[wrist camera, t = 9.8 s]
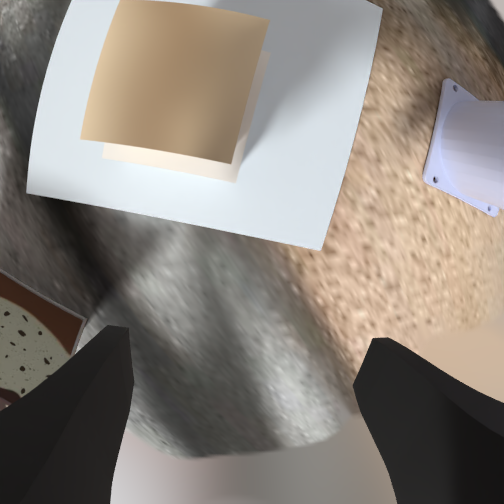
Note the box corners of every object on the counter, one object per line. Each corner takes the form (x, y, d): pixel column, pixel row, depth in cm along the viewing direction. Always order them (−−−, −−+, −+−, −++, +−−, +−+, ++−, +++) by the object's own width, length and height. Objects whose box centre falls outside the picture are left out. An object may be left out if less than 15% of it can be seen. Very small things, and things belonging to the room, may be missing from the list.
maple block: (251, 57, 11) (270, 19, 7) (225, 156, 12) (231, 164, 8) (148, 40, 10) (120, -1, 6) (122, 138, 12) (79, 139, 7)
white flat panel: (375, 13, 14) (382, 8, 13) (315, 245, 19) (320, 250, 18) (100, -42, 10) (96, -49, 9) (34, 190, 15) (26, 193, 14)
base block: (260, 67, 14) (270, 52, 11) (231, 175, 16) (235, 183, 13) (148, 46, 13) (135, 28, 10) (121, 154, 14) (101, 158, 12)
